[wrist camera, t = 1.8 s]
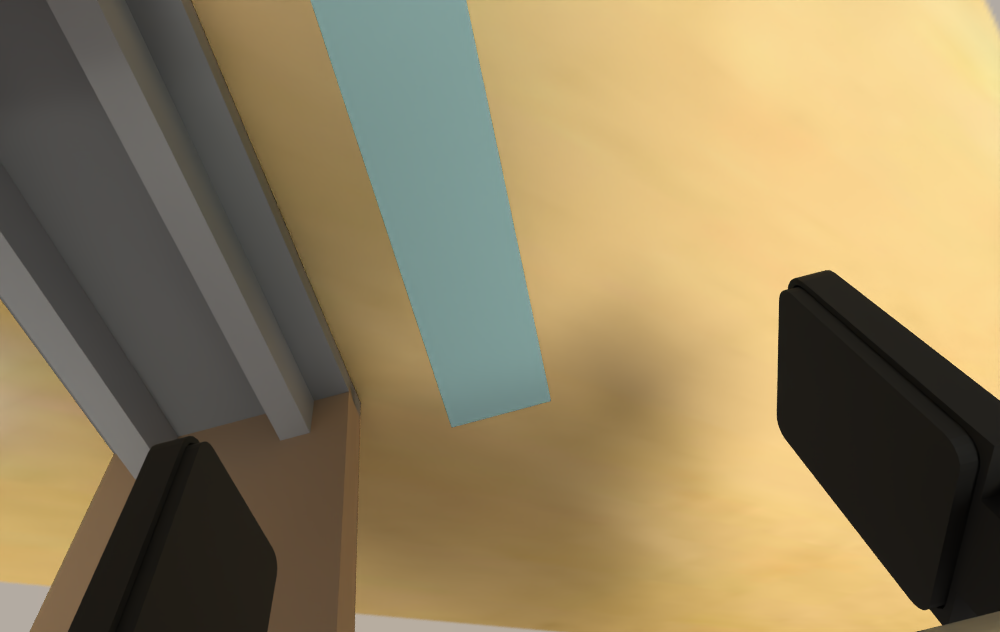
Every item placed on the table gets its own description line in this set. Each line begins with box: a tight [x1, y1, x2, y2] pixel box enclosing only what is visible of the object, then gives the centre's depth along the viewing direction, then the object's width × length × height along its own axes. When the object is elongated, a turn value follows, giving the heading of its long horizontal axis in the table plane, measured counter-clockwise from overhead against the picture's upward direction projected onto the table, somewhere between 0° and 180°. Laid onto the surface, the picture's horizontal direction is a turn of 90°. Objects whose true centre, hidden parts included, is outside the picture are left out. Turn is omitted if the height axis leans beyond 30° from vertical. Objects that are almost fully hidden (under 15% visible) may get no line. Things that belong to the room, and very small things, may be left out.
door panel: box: [311, 0, 551, 427], centre depth 20 cm, size 12×3×9 cm, turn 11°
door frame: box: [0, 0, 361, 632], centre depth 18 cm, size 22×10×12 cm, turn 11°
